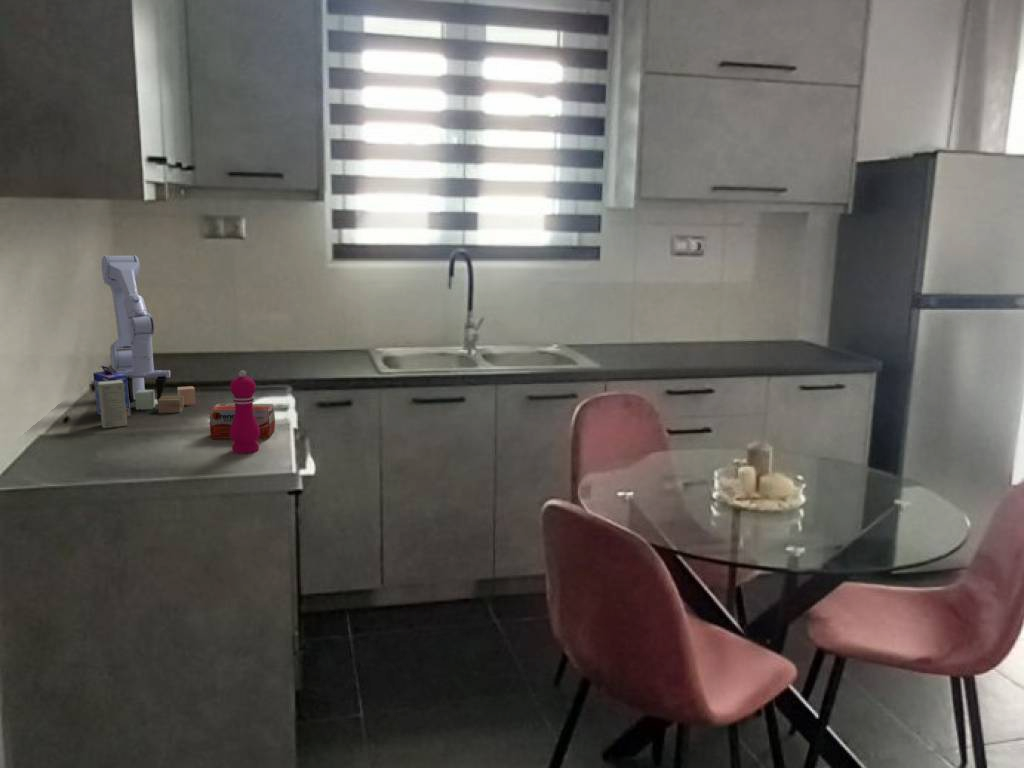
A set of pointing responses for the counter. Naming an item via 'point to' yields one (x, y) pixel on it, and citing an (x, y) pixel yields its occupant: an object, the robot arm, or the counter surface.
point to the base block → (170, 404)
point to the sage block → (145, 399)
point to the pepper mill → (244, 415)
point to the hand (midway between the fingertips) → (145, 401)
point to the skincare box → (112, 403)
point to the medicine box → (225, 414)
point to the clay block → (187, 394)
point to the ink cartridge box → (110, 376)
